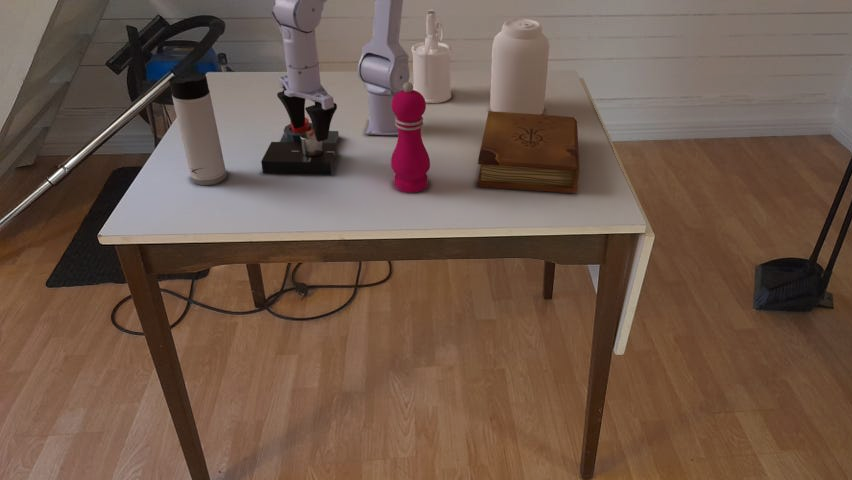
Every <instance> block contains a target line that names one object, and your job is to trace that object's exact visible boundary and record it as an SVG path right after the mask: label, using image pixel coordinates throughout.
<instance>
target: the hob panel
mask: <svg viewBox="0 0 852 480" xmlns="http://www.w3.org/2000/svg"><path fill="white" fill-rule="evenodd" d="M338 156H339V151H338V142H337V143H323V153H322V154H321V155H318V156H313V157H311V156H305V155H304V154H303V153H302V146H301V142H280V141H271V142H270V144H269V145H268V147H267V149H266V151H265V153H264V155H263V157H262V159H261V161H260V163H261V168H262V169H261V170H262V173H263V174H267V175H271V174H273V175H275V174H276V175H318V176H319V175H320V176H321V175H323V176H326V175H327V176H331V175H333V171H334V168H335V165H336V162H337V159H338Z"/></svg>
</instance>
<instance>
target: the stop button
mask: <svg viewBox="0 0 852 480" xmlns="http://www.w3.org/2000/svg"><path fill="white" fill-rule="evenodd" d="M309 123H310V121H309V118H307V117H305V125H304V126H303V127H300V128H297V129H295V128H294V127H293V125H292V123H291V120H290V124H291V130H292V132H295V133H303V132H306V131H309V130H310V128H309Z"/></svg>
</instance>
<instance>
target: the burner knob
mask: <svg viewBox="0 0 852 480" xmlns="http://www.w3.org/2000/svg"><path fill="white" fill-rule="evenodd" d="M300 138H301V146H302V153H303V154H304V155H305V156H311V157H313V156H318V155H321V154H322V153H323V143H322V141H320V142H318V141H317V140H316V137H315V133H314V129H311V131H306V132H303V133H302V134H301V135H300Z"/></svg>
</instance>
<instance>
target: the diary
mask: <svg viewBox="0 0 852 480" xmlns="http://www.w3.org/2000/svg"><path fill="white" fill-rule="evenodd" d="M578 133H579V132H578V120H577V119H576V118H575V116H571V115H570V116H569V115H567V116H566V115H555V114H541V115H540V114H525V113H509V112H494V111H492V110H488V111H487V117H486V121H485V125H484V131H483V135H482V140H481V145H480V150H479V153H478V159H477V164H478V165H480V168H479V173H478V177H477V181H476V183H477V184H476V186H477V187H481V188H494V189H495V188H496V189H506V190H507V189H508V190H521V191H523V190H524V191H535V192H548V193H549V192H550V193H564V194H565V193H566V194H574V193H575V192H576V191H577V190H578V186H579V180H580V179H579V178H580V156H579V155H580V154H579V153H580V152H579V136H578V135H579V134H578Z"/></svg>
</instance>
